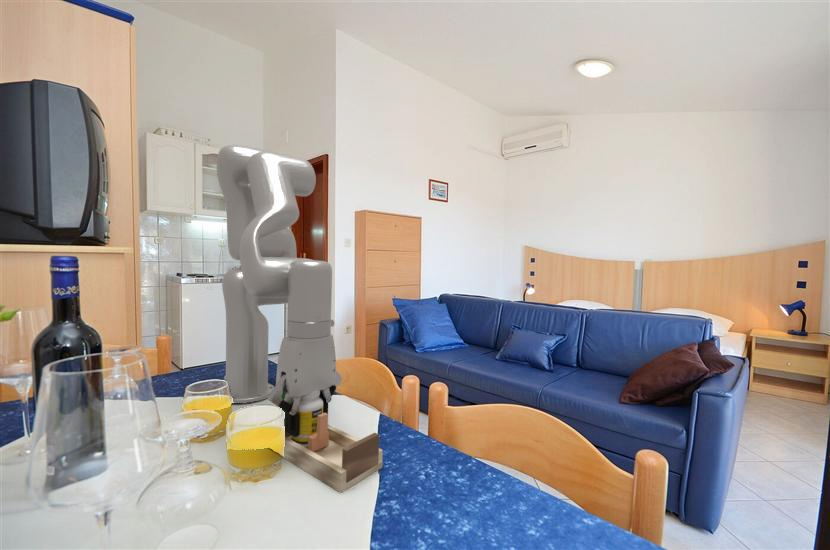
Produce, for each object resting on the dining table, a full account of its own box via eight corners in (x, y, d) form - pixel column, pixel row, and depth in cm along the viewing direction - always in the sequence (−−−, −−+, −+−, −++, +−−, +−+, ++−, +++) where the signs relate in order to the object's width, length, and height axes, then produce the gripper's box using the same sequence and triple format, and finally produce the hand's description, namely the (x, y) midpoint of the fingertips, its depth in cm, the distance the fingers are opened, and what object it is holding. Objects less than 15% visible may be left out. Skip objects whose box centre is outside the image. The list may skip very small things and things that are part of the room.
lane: (267, 447, 68) (267, 415, 67) (308, 430, 75) (309, 401, 75) (340, 492, 55) (341, 453, 55) (382, 467, 63) (383, 432, 62)
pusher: (307, 450, 65) (308, 415, 64) (324, 442, 68) (325, 408, 67) (314, 454, 64) (315, 418, 63) (331, 446, 66) (332, 412, 66)
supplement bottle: (313, 450, 65) (315, 394, 64) (285, 446, 66) (286, 391, 65) (327, 435, 70) (328, 384, 69) (300, 432, 71) (301, 381, 71)
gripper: (333, 321, 76) (331, 408, 77) (252, 332, 62) (250, 438, 63) (359, 326, 71) (356, 419, 72) (277, 340, 58) (275, 454, 59)
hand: (307, 427), depth 68 cm, fingers closed on supplement bottle, 5 cm apart
